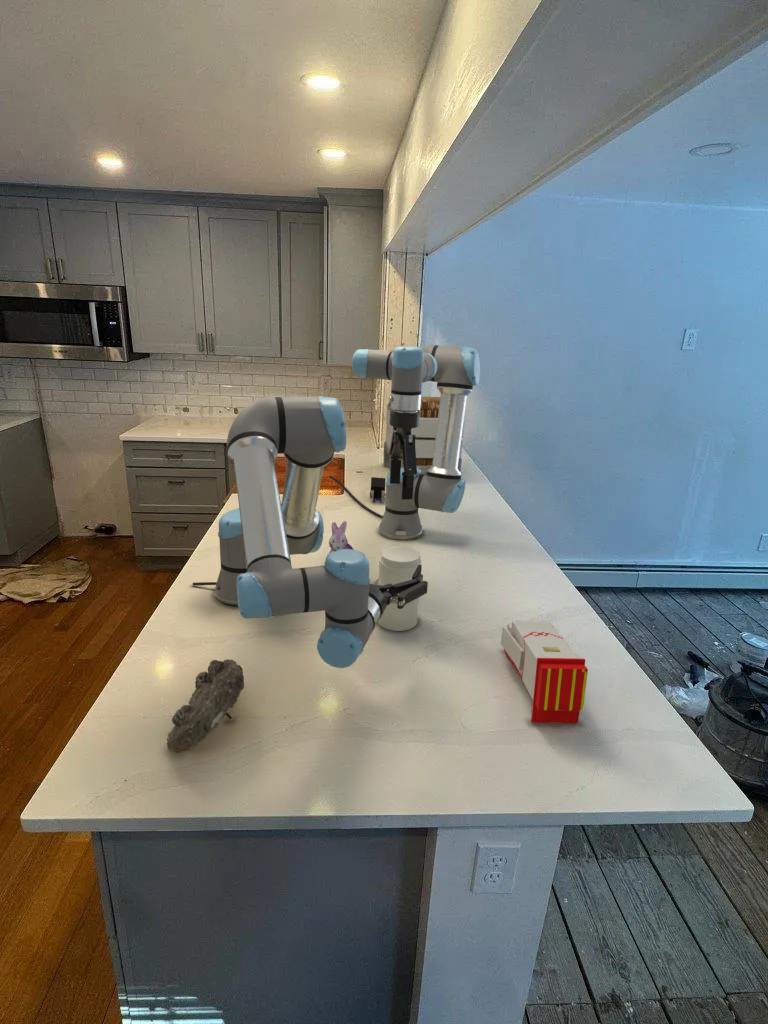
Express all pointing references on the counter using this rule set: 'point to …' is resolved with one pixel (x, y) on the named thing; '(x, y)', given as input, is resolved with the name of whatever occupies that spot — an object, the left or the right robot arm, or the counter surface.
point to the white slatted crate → (420, 433)
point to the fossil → (206, 705)
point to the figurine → (339, 538)
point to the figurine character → (377, 489)
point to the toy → (547, 670)
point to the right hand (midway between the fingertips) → (400, 490)
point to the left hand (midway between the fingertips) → (390, 565)
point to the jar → (393, 570)
